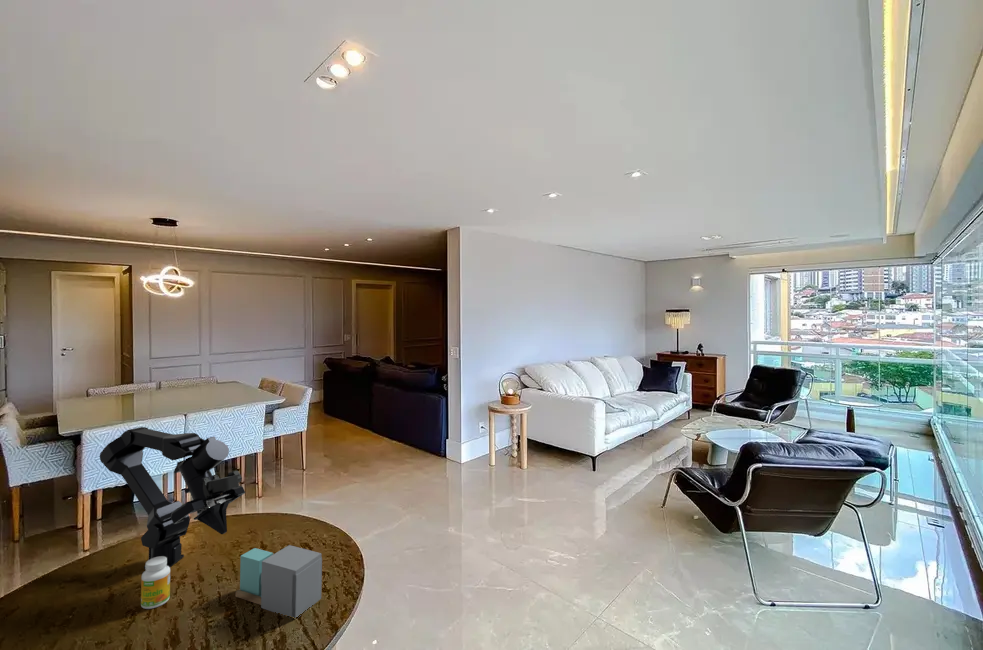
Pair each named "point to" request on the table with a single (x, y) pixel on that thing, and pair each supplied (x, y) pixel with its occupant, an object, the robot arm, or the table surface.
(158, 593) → the supplement bottle
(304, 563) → the socket
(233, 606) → the table surface
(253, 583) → the slider
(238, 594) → the track
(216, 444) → the robot arm
